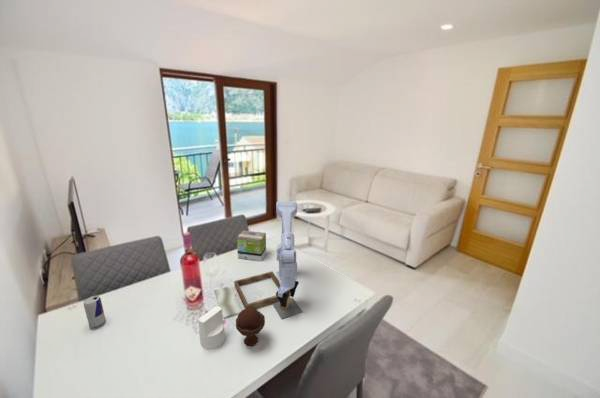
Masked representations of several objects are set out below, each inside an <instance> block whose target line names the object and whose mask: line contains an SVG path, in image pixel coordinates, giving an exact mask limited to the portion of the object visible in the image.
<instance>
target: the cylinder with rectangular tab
mask: <svg viewBox="0 0 600 398" xmlns="http://www.w3.org/2000/svg"><path fill="white" fill-rule="evenodd" d="M197 320H198V321H197V322H198V334H199V343H200V346H201V347H202V348H203V349H204V350H214V349H217V348H219V347H220V346H221V345H222V344H224V342H225V340H226V335H225V334H226V333H225V323H224V319H223V316H222V308H221V307H219V305H216V306H215V307H213V308H212V309H210V310H209V311H207V312H206V313H204V314H203V315H201V316H200V317H199V318H198V319H197Z"/></svg>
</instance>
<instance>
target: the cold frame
mask: <svg viewBox="0 0 600 398" xmlns="http://www.w3.org/2000/svg"><path fill="white" fill-rule="evenodd" d="M278 278H279V277H278V276H276V274H275V272H273V271H268V272H264V273H261V274H257V275H253V276H249V277H246V278H242V279H240V278H239V279H238V280H235V281H234V282H233V283H234V285H233V286H234V288H235V291H236V292H237V295H238V297H239V299H240V301H241V303H242V305H243V307H244V309H247V308H250V309H251V308H253V309H256V310H258V309H261V308H264V307H266V306H269V305H273V304H274V303H277V302H280V301H279V299H278V297H277V296H276V295H273V296H270V297H266V298H263V299H262V298H261V299H260V300H255V301H253V302H250V303H248V301H247V299H246V297H245V295H244V292H243V290H242V289H241V287H243V286H246V285H250V284H255V283H258V282H261V281H264V280H269V279H271V280H272V282H273V283H274V284H275V286H276V288H277V289H278V290H279V288H280V285H281V284H279V281H280V280H279V279H278ZM214 294H215V297H216V299H217V304H218V306H219V307H221V308H222V316H223V320H224V319H227V318H228V319H229V318H231V317H235V316H238V315H239V313H240V312H241V311H242V310H243V309H241V305H240V304H239V301H238V299H237V297H236V296H237V295H235V292H234V290H233V288H232V286H231V285H230V286H226V287H222V288H219V289H215V290H214Z"/></svg>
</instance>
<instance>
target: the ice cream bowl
mask: <svg viewBox="0 0 600 398" xmlns="http://www.w3.org/2000/svg"><path fill="white" fill-rule="evenodd" d="M241 310H242V311H241V312H240V313H239V314H238V315H237V318H235V328H236V330H237V331H238V332H239V333H240V334H241V335H242V336H243V337H245V338H244V339H243V344H244V345H245V346H246V347H250V348H251V347H254V346H256V345H257V344H258V342H259V336H257V335H259V334H260V332H261V331H262V330H263V329H264V328H265V324H266V319H265V315H264V314H263V313H261V311H259V310H258V309H253V308H251V309H250V308H247V309H245V308H244V309H241Z"/></svg>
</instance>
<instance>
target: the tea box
mask: <svg viewBox="0 0 600 398" xmlns="http://www.w3.org/2000/svg"><path fill="white" fill-rule="evenodd" d="M236 245H237V246H236V247H237V249H236V250H237V258H238V259H242V260H250V261H257V262H262V261H263V259H264V258H265V256H266V254H267V232H261V231H253V230H242V231H241V232H240V233H239V234H238V236H237V237H236Z"/></svg>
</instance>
